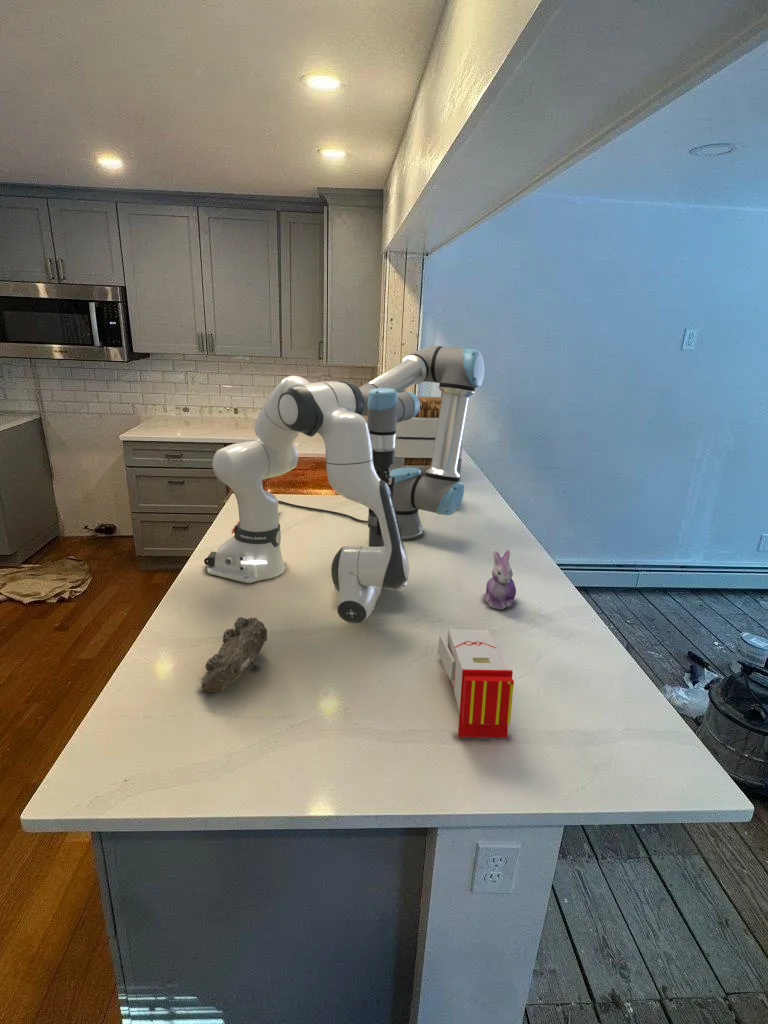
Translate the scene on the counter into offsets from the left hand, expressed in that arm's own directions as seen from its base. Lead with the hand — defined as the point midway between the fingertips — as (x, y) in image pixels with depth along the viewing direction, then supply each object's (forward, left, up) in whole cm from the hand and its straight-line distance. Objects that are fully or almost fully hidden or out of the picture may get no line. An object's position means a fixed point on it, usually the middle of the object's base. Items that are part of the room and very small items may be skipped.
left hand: (376, 562), depth 161 cm
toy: (+29, -44, -7) cm, 53 cm away
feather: (-46, +43, -7) cm, 63 cm away
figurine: (+35, -2, -7) cm, 36 cm away
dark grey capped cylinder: (0, -1, -7) cm, 7 cm away
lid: (0, -1, +14) cm, 14 cm away
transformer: (-3, +120, -7) cm, 120 cm away
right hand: (0, -1, +10) cm, 10 cm away
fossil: (-21, -47, -7) cm, 52 cm away
